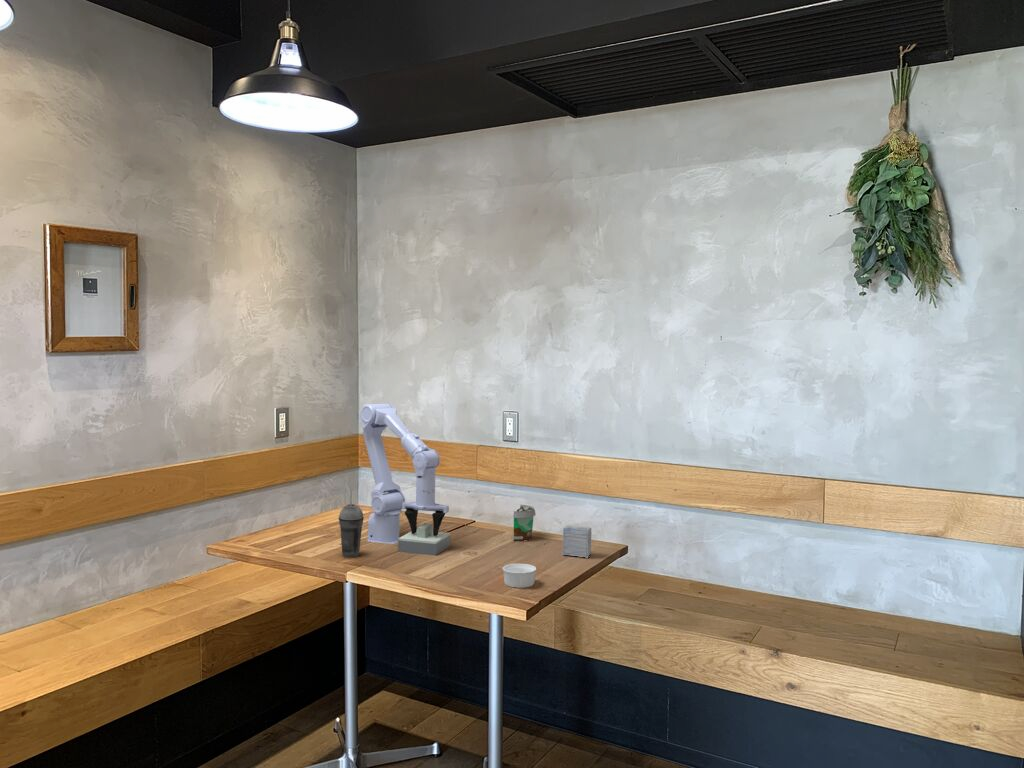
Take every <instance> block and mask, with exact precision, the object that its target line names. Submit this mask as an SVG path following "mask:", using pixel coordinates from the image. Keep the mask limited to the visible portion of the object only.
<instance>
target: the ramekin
mask: <svg viewBox="0 0 1024 768" xmlns="http://www.w3.org/2000/svg"><path fill="white" fill-rule="evenodd" d="M502 572H503V580H504V581H503V582H504V584H505V585H506V586H508V587H510V588H514V587H517V589H526V588H530V587H532V586H534V584H535V582H536V581H535V580H536V572H537V567H536V566H535V565H532V564H529V563H527V564H526V563H509V564H506V565H504V566H503V567H502ZM525 587H526V588H525Z"/></svg>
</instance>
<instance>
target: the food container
mask: <svg viewBox="0 0 1024 768" xmlns="http://www.w3.org/2000/svg"><path fill="white" fill-rule="evenodd" d="M519 505H520V507H519V508H518V509H517V510H514V511H513V515H512V516H513V517H512V518H513V542H517V541H519V542H525V541H524V540H528V541H530V540H529V539H531V538H533V537H532V535H533V527H534V526H533V525H534V517H535V516H537V515H536V510H535V507H534V506H531V505H527V504H519ZM531 540H532V539H531Z"/></svg>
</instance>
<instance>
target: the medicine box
mask: <svg viewBox="0 0 1024 768" xmlns="http://www.w3.org/2000/svg"><path fill="white" fill-rule="evenodd" d="M562 529H563V530H562V556H563V555H573V556H583V557H588V556H589V555H590V554H591V555H592V527H591V526H581V525H580V526H579V525H569V524H568V525H565V526H564V527H563V528H562ZM591 555H590V556H591ZM590 556H589V557H590Z"/></svg>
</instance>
